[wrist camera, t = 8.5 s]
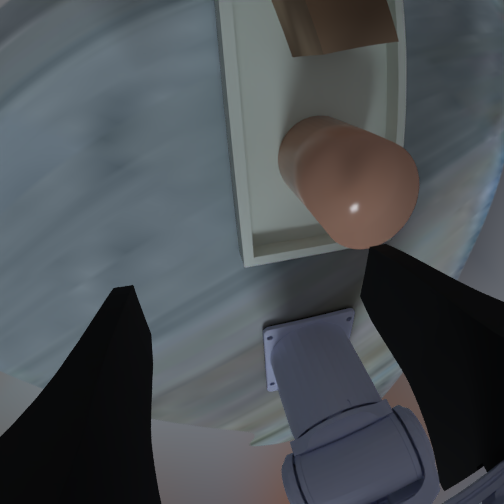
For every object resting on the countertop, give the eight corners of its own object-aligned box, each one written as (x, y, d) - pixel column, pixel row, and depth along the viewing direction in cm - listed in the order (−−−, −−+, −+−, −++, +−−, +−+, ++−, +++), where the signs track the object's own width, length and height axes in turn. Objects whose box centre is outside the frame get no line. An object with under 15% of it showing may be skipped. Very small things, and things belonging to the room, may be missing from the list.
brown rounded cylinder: (356, 190, 19) (411, 237, 14) (281, 203, 18) (320, 259, 13) (356, 113, 16) (423, 137, 11) (274, 119, 16) (318, 145, 11)
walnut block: (356, 43, 14) (398, 41, 10) (292, 57, 14) (323, 54, 11) (335, -19, 12) (373, -35, 8) (267, -9, 12) (292, -30, 8)
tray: (378, 227, 22) (391, 240, 20) (239, 251, 20) (244, 267, 19) (383, -15, 12) (400, -20, 11) (211, -30, 11) (215, -41, 9)
